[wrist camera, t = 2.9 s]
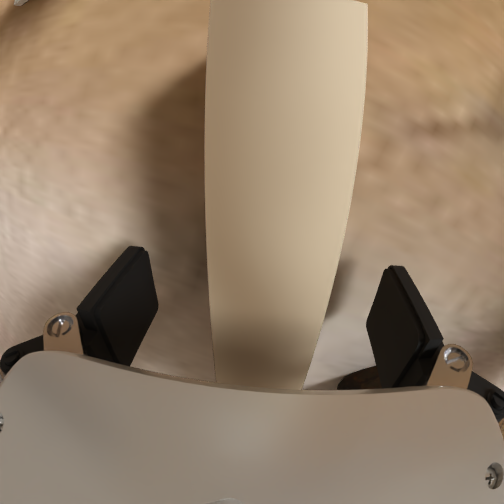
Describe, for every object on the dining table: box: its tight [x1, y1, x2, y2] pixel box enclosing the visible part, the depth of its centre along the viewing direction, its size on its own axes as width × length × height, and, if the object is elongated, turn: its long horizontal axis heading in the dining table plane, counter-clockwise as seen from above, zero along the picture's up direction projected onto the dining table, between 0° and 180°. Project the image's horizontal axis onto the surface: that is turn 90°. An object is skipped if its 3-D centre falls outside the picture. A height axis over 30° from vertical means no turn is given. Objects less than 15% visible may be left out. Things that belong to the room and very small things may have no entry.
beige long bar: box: [205, 0, 368, 390], centre depth 10 cm, size 3×18×5 cm, turn 178°
